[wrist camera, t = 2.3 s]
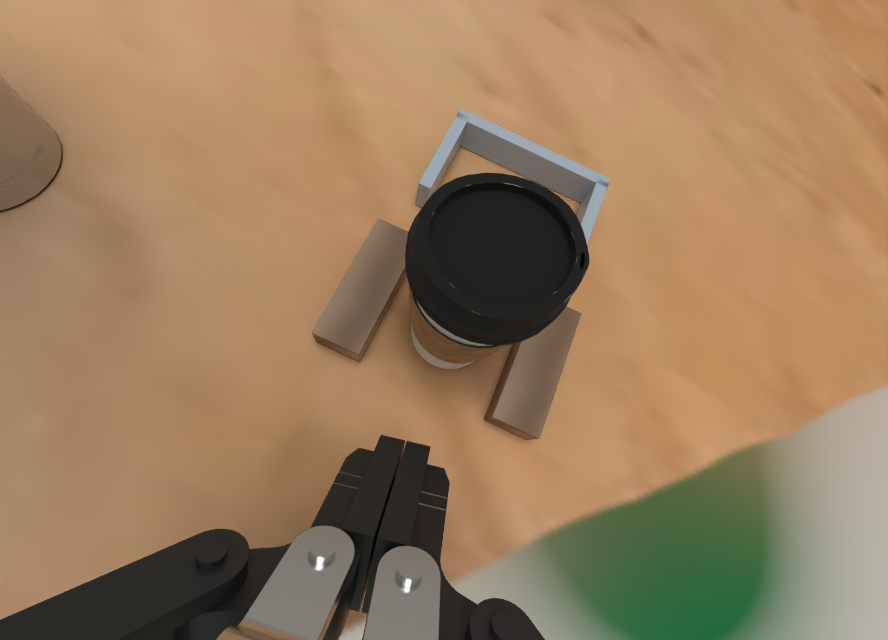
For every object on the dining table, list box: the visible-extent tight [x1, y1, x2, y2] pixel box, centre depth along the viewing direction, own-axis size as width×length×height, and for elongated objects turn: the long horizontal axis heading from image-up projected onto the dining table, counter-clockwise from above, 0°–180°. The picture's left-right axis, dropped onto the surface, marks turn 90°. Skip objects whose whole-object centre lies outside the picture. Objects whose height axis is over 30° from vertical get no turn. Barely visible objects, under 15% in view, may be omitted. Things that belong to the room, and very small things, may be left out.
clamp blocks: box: [312, 218, 581, 440], centre depth 31 cm, size 17×10×2 cm, turn 66°
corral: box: [415, 109, 610, 243], centre depth 36 cm, size 14×8×3 cm, turn 66°
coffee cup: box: [405, 173, 589, 369], centre depth 26 cm, size 8×8×15 cm
